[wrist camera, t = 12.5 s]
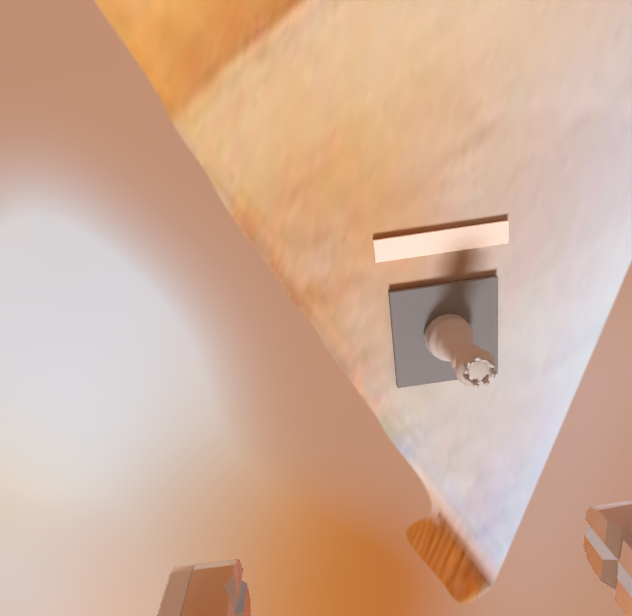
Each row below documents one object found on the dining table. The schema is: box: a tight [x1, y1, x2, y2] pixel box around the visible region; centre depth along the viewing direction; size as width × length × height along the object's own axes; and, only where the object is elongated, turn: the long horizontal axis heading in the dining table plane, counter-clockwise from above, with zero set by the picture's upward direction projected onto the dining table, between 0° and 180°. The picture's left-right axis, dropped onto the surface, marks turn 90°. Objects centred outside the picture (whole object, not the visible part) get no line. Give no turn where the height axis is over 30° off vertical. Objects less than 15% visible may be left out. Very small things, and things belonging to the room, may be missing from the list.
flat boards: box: [373, 220, 509, 388], centre depth 40 cm, size 15×12×1 cm
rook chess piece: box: [424, 314, 496, 388], centre depth 37 cm, size 4×4×8 cm
